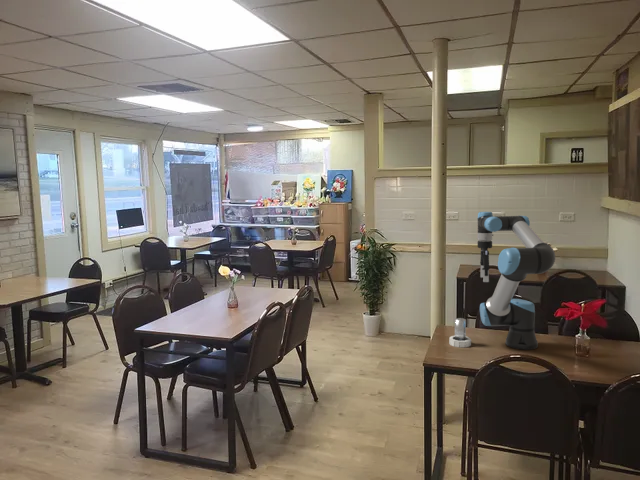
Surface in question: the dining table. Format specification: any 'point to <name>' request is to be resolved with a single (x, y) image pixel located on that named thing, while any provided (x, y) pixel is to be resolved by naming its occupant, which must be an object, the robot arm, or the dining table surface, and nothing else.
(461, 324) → the metal cylinder
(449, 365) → the dining table surface
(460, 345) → the socket
